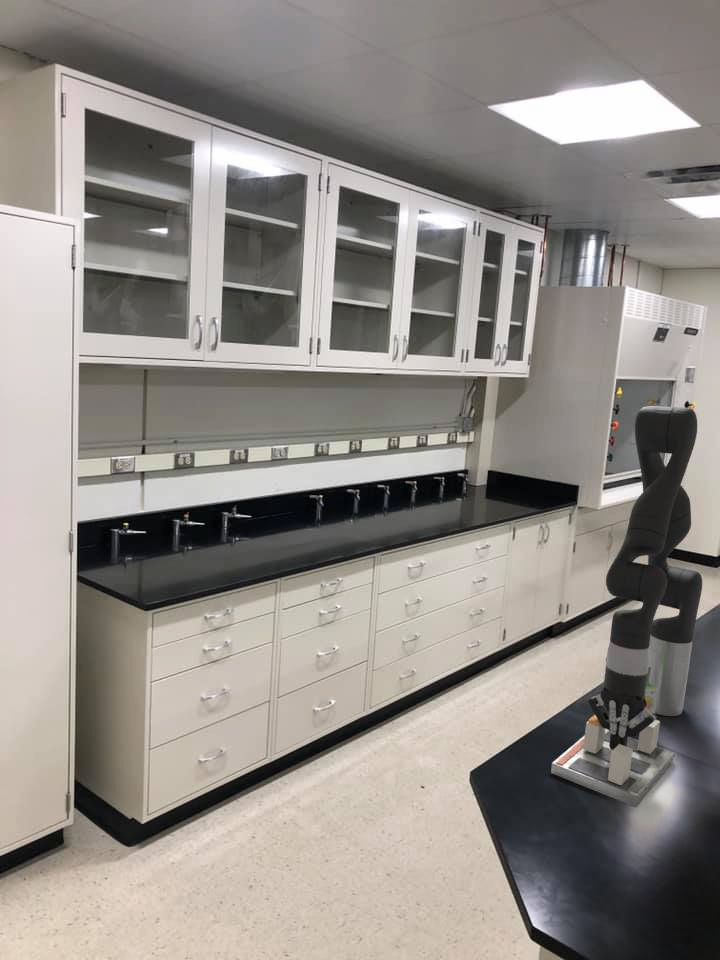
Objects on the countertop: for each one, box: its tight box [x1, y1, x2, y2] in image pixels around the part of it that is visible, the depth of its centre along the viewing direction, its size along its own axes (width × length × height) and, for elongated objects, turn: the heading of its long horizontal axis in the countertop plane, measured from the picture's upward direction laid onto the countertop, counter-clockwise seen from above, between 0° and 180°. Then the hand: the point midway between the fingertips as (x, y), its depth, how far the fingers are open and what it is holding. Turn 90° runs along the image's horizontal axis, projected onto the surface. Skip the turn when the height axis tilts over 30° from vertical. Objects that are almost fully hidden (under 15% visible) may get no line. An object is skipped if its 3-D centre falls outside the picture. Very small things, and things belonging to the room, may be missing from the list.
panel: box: [550, 729, 675, 808], centre depth 148 cm, size 22×16×2 cm
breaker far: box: [637, 719, 661, 754], centre depth 151 cm, size 4×2×6 cm, turn 142°
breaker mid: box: [583, 714, 606, 754], centre depth 150 cm, size 4×2×6 cm, turn 142°
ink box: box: [630, 667, 658, 728], centre depth 164 cm, size 7×4×13 cm, turn 98°
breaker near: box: [608, 744, 633, 785], centre depth 139 cm, size 4×2×6 cm, turn 142°
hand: (617, 752), depth 147 cm, fingers closed
